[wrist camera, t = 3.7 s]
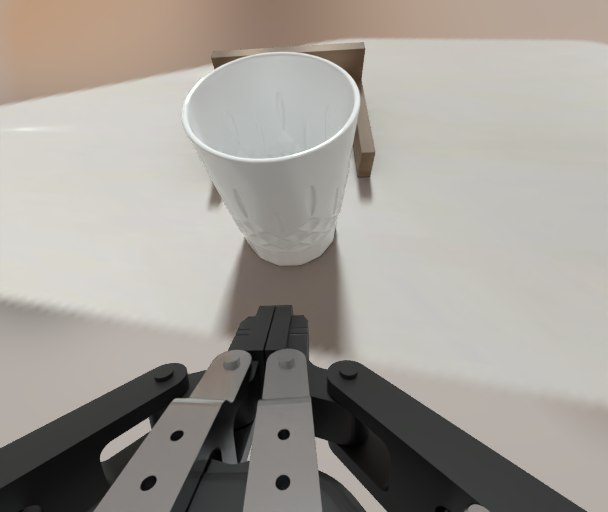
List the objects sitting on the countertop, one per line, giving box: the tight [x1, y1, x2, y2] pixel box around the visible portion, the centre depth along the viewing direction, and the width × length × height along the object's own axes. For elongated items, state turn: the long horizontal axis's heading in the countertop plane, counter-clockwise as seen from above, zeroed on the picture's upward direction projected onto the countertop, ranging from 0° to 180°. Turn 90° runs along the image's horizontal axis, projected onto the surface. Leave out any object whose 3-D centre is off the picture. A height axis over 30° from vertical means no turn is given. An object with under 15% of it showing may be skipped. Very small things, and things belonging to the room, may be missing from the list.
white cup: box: [181, 52, 360, 266], centre depth 17 cm, size 8×8×10 cm
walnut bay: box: [211, 42, 375, 177], centre depth 24 cm, size 13×10×5 cm
